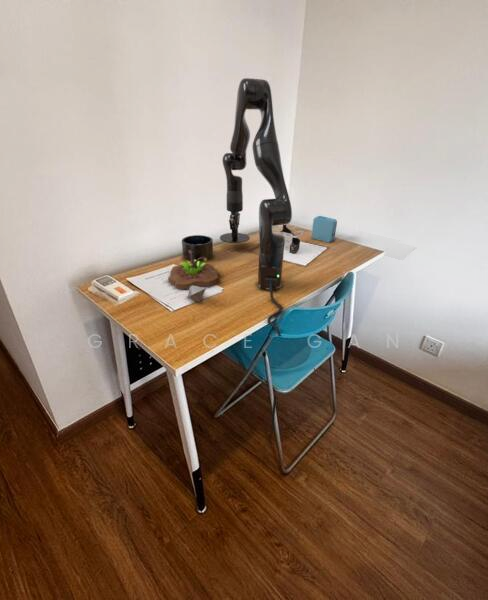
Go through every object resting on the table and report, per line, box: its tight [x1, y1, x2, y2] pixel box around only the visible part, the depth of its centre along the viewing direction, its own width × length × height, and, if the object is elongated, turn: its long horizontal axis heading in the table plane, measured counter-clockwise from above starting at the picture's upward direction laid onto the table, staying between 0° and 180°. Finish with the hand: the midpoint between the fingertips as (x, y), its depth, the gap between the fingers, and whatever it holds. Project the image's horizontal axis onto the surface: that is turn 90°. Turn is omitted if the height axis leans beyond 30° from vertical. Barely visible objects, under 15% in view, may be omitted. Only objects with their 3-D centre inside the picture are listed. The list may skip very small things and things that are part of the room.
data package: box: [311, 215, 338, 244], centre depth 175 cm, size 12×4×12 cm, turn 51°
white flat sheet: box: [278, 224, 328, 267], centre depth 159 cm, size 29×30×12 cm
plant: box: [168, 250, 220, 290], centre depth 128 cm, size 20×20×11 cm
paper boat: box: [187, 285, 212, 303], centre depth 114 cm, size 12×6×9 cm
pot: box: [181, 234, 214, 263], centre depth 147 cm, size 14×14×8 cm
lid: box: [219, 230, 251, 244], centre depth 156 cm, size 15×15×6 cm
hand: (234, 236), depth 157 cm, fingers closed on lid, 2 cm apart
